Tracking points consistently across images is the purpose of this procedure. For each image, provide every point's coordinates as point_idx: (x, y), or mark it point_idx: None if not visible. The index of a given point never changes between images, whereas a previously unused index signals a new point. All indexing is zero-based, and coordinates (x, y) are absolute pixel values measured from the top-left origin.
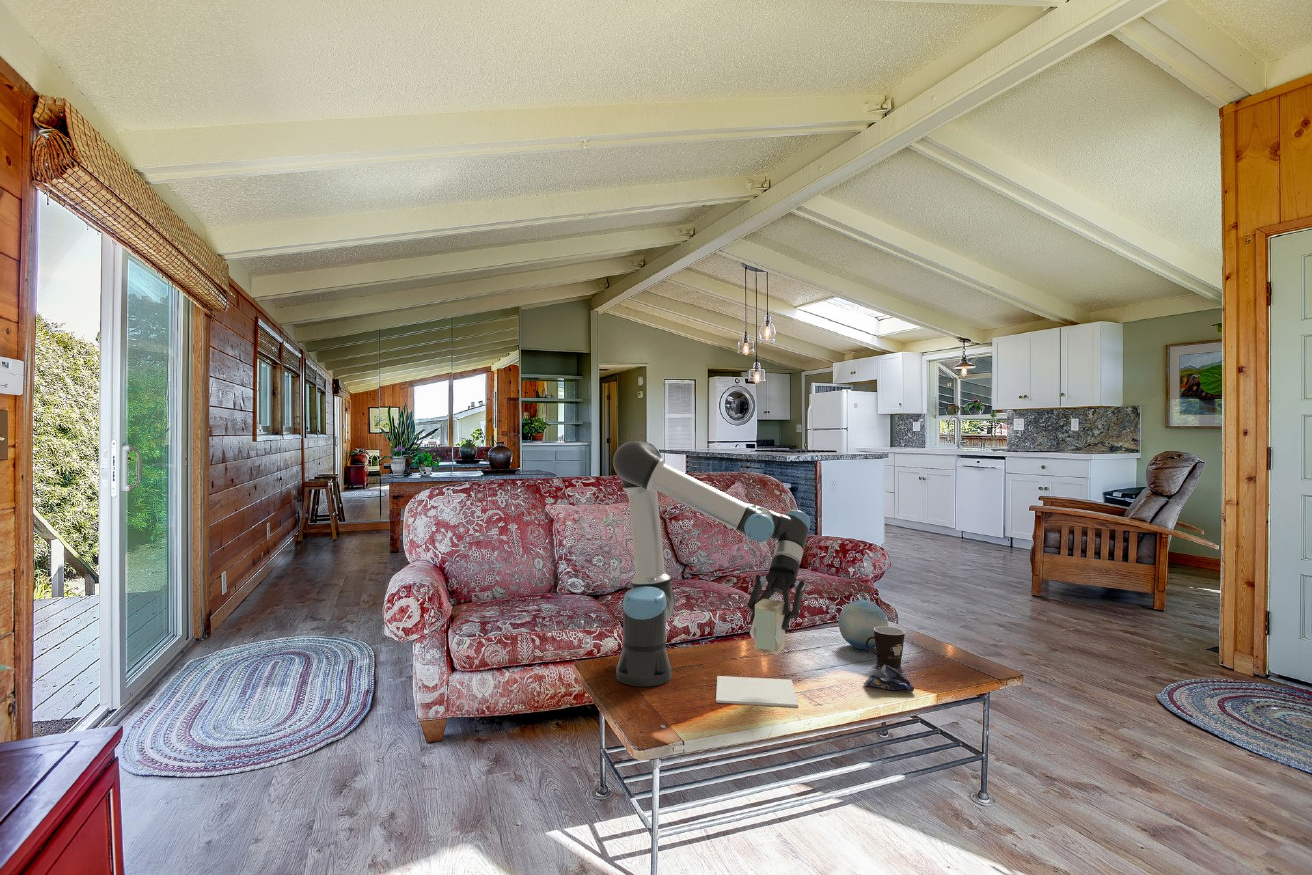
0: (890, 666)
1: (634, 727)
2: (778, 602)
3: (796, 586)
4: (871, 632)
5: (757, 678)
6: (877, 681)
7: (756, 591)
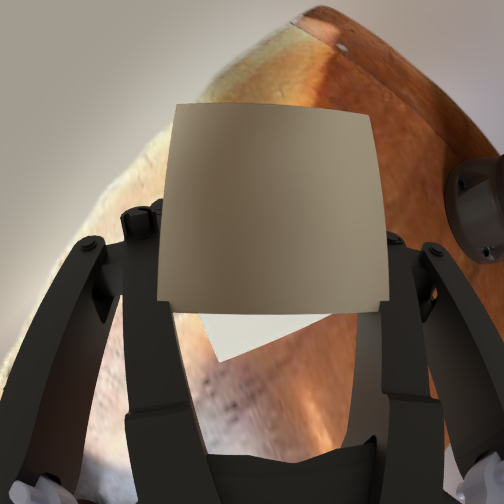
0: (81, 501)
1: (367, 38)
2: (209, 257)
3: (52, 501)
4: None
5: (301, 324)
6: None
7: (477, 342)
